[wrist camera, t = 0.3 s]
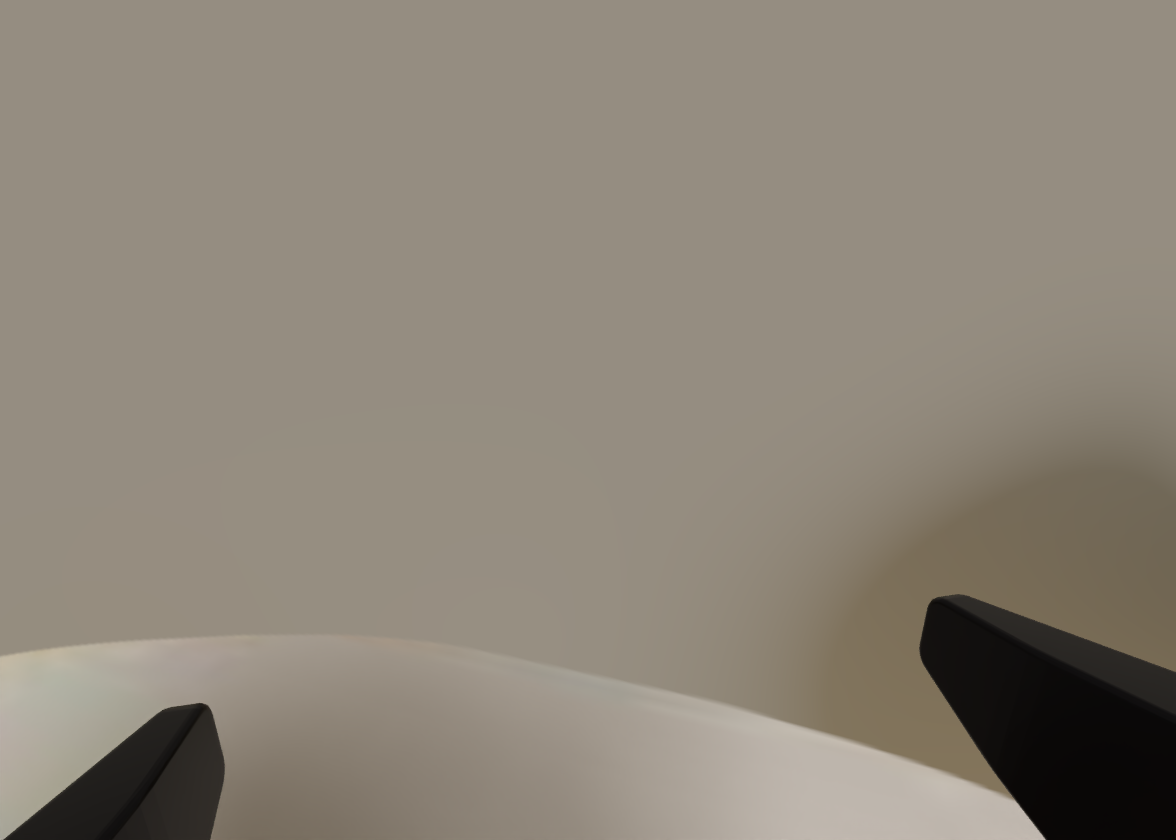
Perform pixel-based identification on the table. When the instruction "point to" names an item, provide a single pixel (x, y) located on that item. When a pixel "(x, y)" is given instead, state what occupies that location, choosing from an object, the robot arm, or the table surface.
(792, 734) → the table surface
